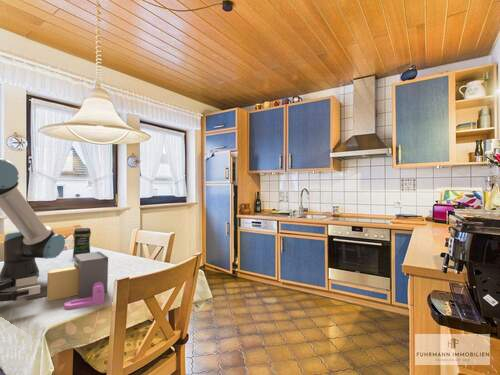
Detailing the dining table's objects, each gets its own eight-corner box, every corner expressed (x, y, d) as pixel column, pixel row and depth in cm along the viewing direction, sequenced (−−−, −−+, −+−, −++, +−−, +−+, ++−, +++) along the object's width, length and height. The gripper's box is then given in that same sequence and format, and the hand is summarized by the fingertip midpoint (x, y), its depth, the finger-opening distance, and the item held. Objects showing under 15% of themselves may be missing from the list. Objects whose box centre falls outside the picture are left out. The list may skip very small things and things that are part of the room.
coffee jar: (72, 258, 169) (72, 229, 169) (73, 255, 176) (74, 227, 176) (90, 257, 174) (90, 228, 174) (90, 254, 181) (91, 226, 181)
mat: (25, 291, 115) (25, 290, 115) (74, 282, 127) (74, 280, 127) (27, 300, 106) (27, 298, 106) (80, 289, 118) (80, 287, 118)
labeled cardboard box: (47, 298, 109) (47, 270, 109) (91, 288, 120) (92, 264, 120) (48, 301, 106) (48, 273, 106) (93, 291, 117) (94, 266, 117)
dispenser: (72, 288, 119) (72, 254, 119) (98, 283, 126) (99, 251, 126) (78, 298, 109) (79, 261, 109) (107, 292, 116) (108, 257, 116)
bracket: (103, 298, 110) (103, 281, 110) (103, 303, 105) (104, 285, 105) (64, 305, 103) (64, 286, 103) (63, 310, 98) (63, 291, 98)
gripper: (-38, 298, 100) (35, 285, 114) (-47, 323, 81) (41, 304, 96) (-37, 277, 100) (35, 267, 114) (-47, 298, 81) (41, 283, 96)
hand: (38, 284), depth 105 cm, fingers open, 13 cm apart
